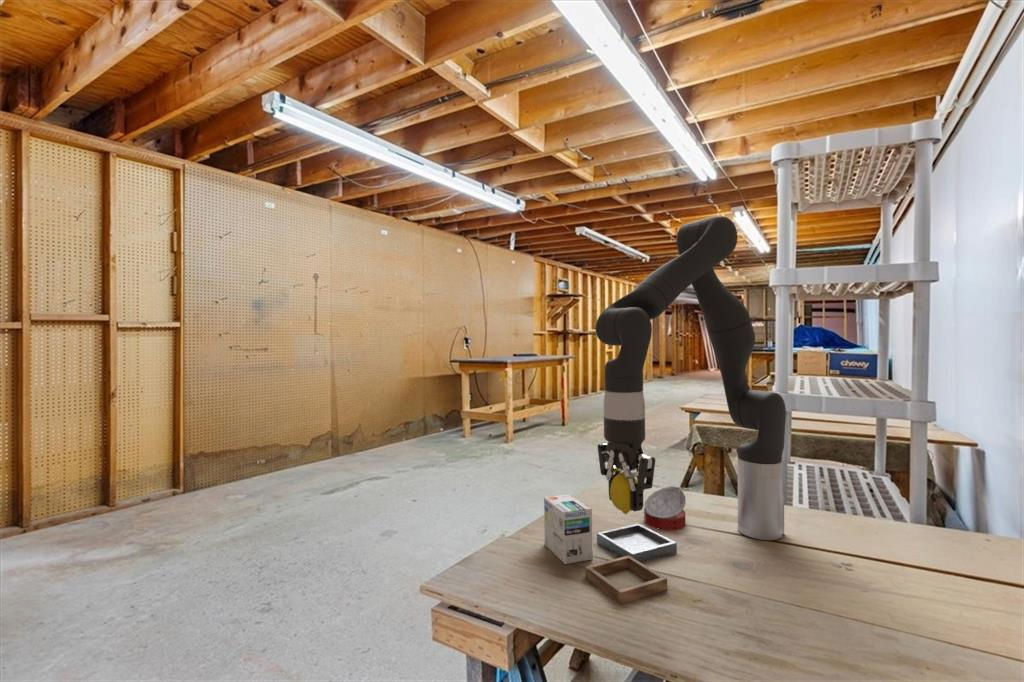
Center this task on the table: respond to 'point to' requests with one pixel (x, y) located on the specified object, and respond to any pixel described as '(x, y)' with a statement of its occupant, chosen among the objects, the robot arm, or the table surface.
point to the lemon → (621, 492)
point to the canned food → (665, 509)
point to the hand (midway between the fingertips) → (625, 504)
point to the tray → (636, 543)
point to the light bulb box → (568, 528)
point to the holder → (631, 593)
